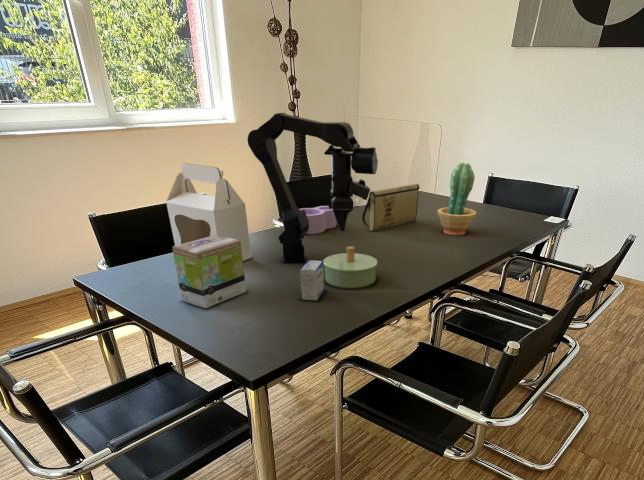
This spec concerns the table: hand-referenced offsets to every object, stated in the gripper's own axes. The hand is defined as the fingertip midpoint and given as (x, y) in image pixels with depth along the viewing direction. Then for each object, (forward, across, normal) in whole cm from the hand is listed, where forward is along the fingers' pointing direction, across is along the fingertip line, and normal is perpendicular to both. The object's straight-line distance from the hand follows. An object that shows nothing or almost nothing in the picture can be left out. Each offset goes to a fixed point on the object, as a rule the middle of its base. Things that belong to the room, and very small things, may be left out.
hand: (341, 227), depth 146 cm
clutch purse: (+12, +51, -22) cm, 57 cm away
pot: (+12, -14, -2) cm, 19 cm away
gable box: (+12, +9, +43) cm, 45 cm away
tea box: (+12, -26, +36) cm, 46 cm away
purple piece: (+12, +46, +9) cm, 49 cm away
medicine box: (+12, -26, +9) cm, 30 cm away
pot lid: (+7, -14, -2) cm, 16 cm away
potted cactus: (+12, +40, -47) cm, 63 cm away
